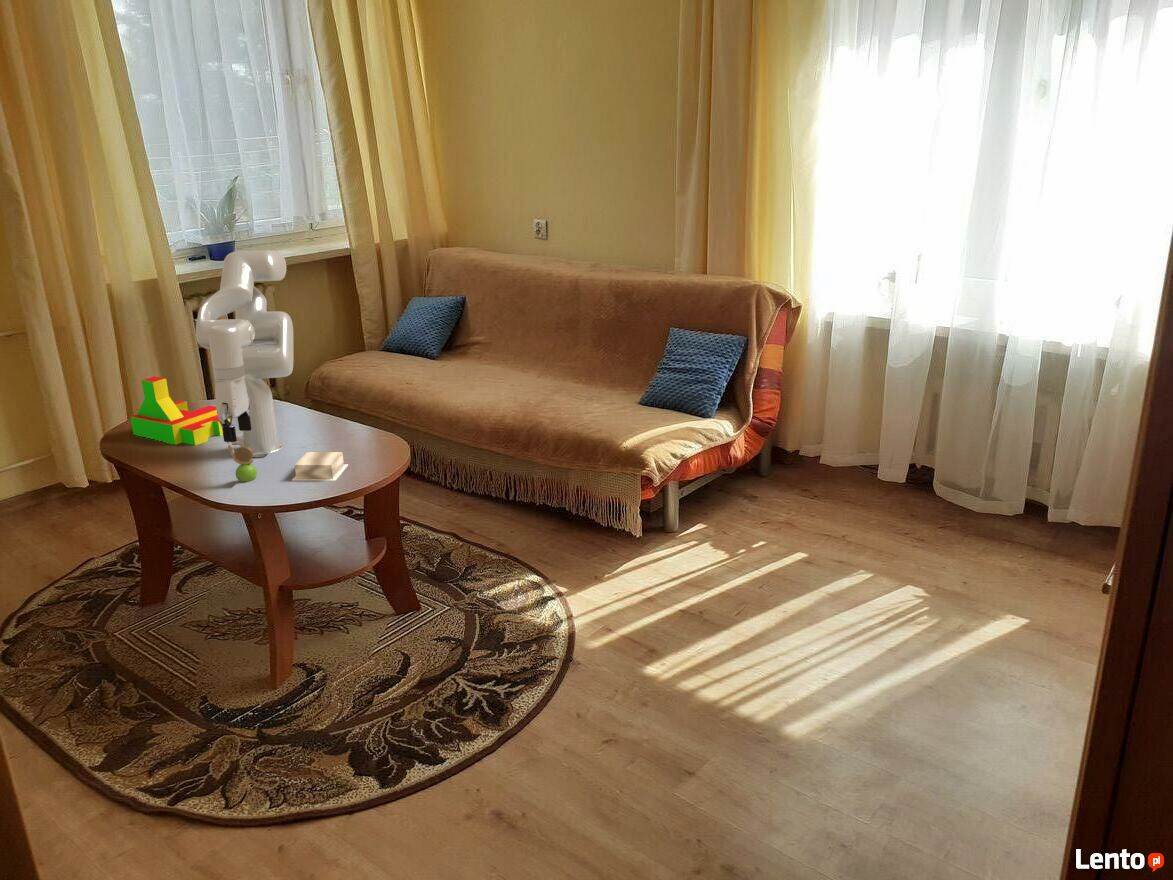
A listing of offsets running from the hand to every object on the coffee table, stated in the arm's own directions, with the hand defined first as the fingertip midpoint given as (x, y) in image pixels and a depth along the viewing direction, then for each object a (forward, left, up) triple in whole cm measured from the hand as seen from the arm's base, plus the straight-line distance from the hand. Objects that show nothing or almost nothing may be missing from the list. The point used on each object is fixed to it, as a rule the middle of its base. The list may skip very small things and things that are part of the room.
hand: (238, 435), depth 245 cm
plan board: (+16, +7, -14) cm, 22 cm away
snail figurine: (0, +1, -14) cm, 14 cm away
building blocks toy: (-36, +42, -14) cm, 57 cm away
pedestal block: (+19, +6, -13) cm, 23 cm away
